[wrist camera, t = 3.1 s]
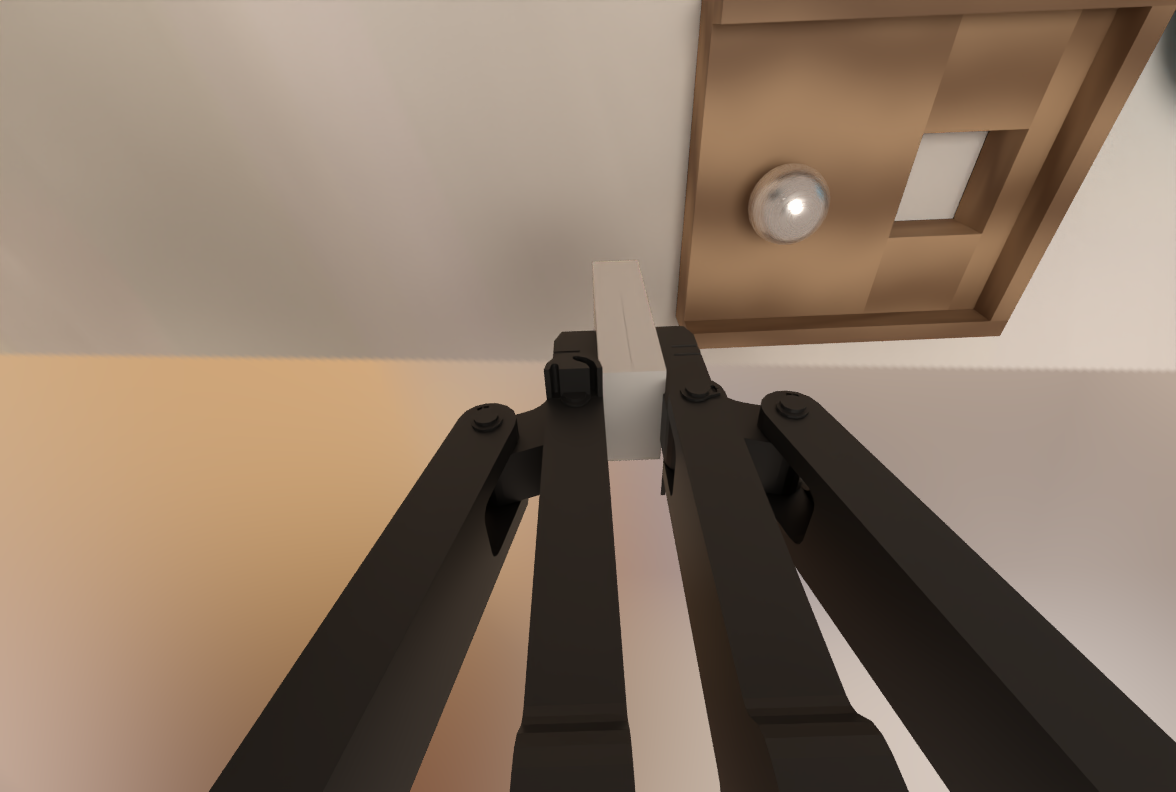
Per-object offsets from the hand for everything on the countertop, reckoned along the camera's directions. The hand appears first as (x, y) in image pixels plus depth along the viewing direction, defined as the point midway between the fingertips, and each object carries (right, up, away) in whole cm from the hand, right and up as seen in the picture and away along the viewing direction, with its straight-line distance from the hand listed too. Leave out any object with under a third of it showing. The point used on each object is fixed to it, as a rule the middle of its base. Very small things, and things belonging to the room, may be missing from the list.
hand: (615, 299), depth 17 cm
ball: (+9, +7, +8) cm, 13 cm away
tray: (+13, +9, +10) cm, 19 cm away
